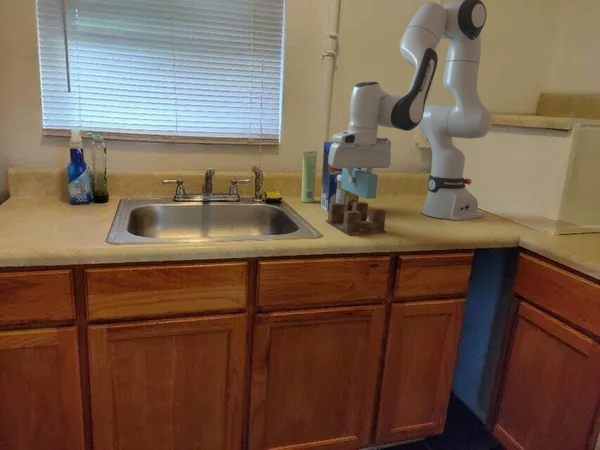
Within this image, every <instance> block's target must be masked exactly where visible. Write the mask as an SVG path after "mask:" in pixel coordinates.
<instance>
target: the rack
mask: <svg viewBox="0 0 600 450" xmlns="http://www.w3.org/2000/svg"><path fill="white" fill-rule="evenodd" d="M368 207H369V203H368V202H366V201H358V202H353V208H352V211H344V204H343V203H329V211H327V213H328V214H327V219H326V221H325V222H326V223H327V224H329V225H331V227H334V228H336V229H337V230H339V231H340V232H342V233H344V234H345V235H347V236H362V235H376V234H377V233H378V234H387V231H386V230H385V223H386V215H387V214H386V213H387V211H386V210H384V209H382V208H381V209H379V208H378V209H370V210H368ZM368 211H369V212H368ZM367 219H368V220H367Z"/></svg>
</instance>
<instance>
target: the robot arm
mask: <svg viewBox="0 0 600 450" xmlns="http://www.w3.org/2000/svg"><path fill="white" fill-rule="evenodd" d="M486 21H487V8H486V6H485V4H484V3H483V1H482V0H450V1H448V2H444V3H441V4H440V3H438V2H432V1H429V2H426V3H424V4H422V5H421V6H420V7H419V8H418V10H417V11H416V12H415V14H414V15H413V17H412V19H411V20H410V22H409V23H408V25H407V27H406V29H405V31H404V33H403V35H402V37H401V39H400V42H399V52H400V55H401V58H403V60H404V61H405V62H406V63H407V64H408V65H409V66H411V67H413V68H415V70H414V73H413V76H412V79H411V82H410V85H409V89H408V91H407V92H405V93H403V94H400V95H397V94H396V95H395V94H389V93H387V92H386V91H385V90H384V89H383V88H381V86H380V83H379V82H378V81H364V82H358V83H356V84H355V85H354V86H353V89H352V91H351V96H350V105H349V117H350V120H349V123H348V127H347V128H348V129H347V130H344V131H340V132H338V133H334V134H333V135H332V138H331V139H332V142H334V143H333V144H332V145H331V147H330V151H329V157H328V164H329V165H330V167H333V168H346V172H347V174H348V176H349V182H350V183H355V179H356V177H354V176H353V174H352V172H353V168H361V169H364V171H366V172H369V173H373V169H388V168H390V166H391V163H392V162H391V160H392V158H391V157H392V156H391V155H392V154H391V153H392V152H391V149H392V142H391V140H390V139H388V138H387V137H378V131H379V129H378V127H386V128H390V129H391V128H393V129H397V130H401V131H406V132H408V131H412V130H414V129H415V128H416V127H417V126H418V129H419V130H420V132H421V133H423V135H425V138H426V139H427V141H428V143H429V145H430V150H431V167H430V169H431V170H430V174H429V177H428V182H427V183H428V184H427V187H428V189H427V194H426V197H425V198H426V199H425V201H424V205H423V207H422V210H421V213H422V215H423V214H424V215H425V216H429V217H432V218H438V219H445V220H452V221H457V222H458V221H464V220H472V219H478V218H484V217H485V214H484V213H483V212H481V211H479V202H478V199H477V198H476V197H475V196H474V195H473V194H472V193H471V192H470V191H469V190H468V189H467V188H466V185H471V183H472V179H471V178H464V177H463V175H464V170H465V169H464V168H465V161H466V157H465V155H464V153H463V151H461V150H460V149H459V148H457V147H456V146H455V144H454V142H453V138H459V139H479V138H485V137H486V136H487V135H488V134H489V132H490V130H491V128H492V126H493V116H492V114H491V112H490V110H488V108H487V107H486V106H485V105H484V104H483V102H482V101H481V99H480V97H479V94H478V76H479V75H478V74H479V68H480V61H481V53H482V52H481V51H482V50H481V49H482V39H481V32H482V30H483V29H484V26H485V24H486ZM442 39H444V40H447V39H448V44H449V45H448V49H447V52H446V57H445V58H446V59H445V64H444V69H443V78H442V86H443V88H444V90H445V91H447V92H448V93H450V94H451V95H452V96H454V99H455V104H442V103H440V104H439V103H437V104H430V105H426V102H427V97H429V96H428V95H429V92H430V89H431V86H432V83H433V80H434V77H435V74H436V71H437V67H438V60H439V58H438V54H437V52H436V50H437V47H438V45H439V43H440V41H441V40H442ZM351 171H352V172H351Z"/></svg>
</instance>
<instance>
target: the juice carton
mask: <svg viewBox="0 0 600 450" xmlns="http://www.w3.org/2000/svg"><path fill="white" fill-rule="evenodd" d="M333 143H334V141H323V155H322V158H323V159H322V175H321V192H320V206H319V207H320V208H322V209H323V210H325V211H326V212H328V211H329V203H336V193H337V176H338V175H342V169H343V168H333V167H330V165H329V164H328V157H329V151H330V147H331V145H332V144H333ZM356 169H359V170H362V168H356ZM359 198H360V196H359V195H356V194H354V193H351V192H349V197H348V211H352V208H353V202H359Z"/></svg>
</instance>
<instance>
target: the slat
mask: <svg viewBox="0 0 600 450" xmlns="http://www.w3.org/2000/svg"><path fill="white" fill-rule="evenodd" d="M351 172H352V171H351ZM352 174H353V176H354V177H356V179H355V183H350V182H349V176H348V174H347V172H346V168H343V169H342V182H341V188H342V189H344V190H347V191H349V192H351V193H354V194H356V195H359V197H362V198H364V199H368V200H369V199H371V200H373V199H376V198H377V185H378V177H379V176H378V174H376V173H373V172H372V173H369V172H366V171H365V170H363V169H361V170H359V169H356V168H353V172H352Z"/></svg>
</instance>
